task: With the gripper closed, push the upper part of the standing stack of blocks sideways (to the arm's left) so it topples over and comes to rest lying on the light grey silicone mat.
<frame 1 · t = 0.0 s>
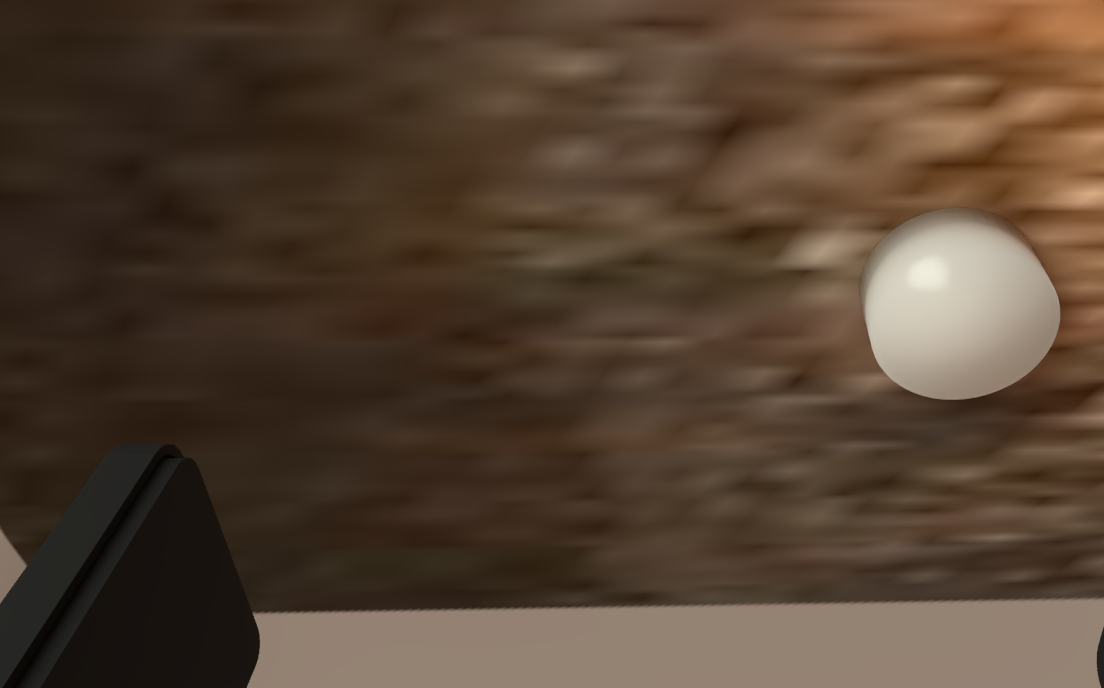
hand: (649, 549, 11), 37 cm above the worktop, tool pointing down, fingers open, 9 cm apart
cream dome knob: (945, 281, 50), on the worktop
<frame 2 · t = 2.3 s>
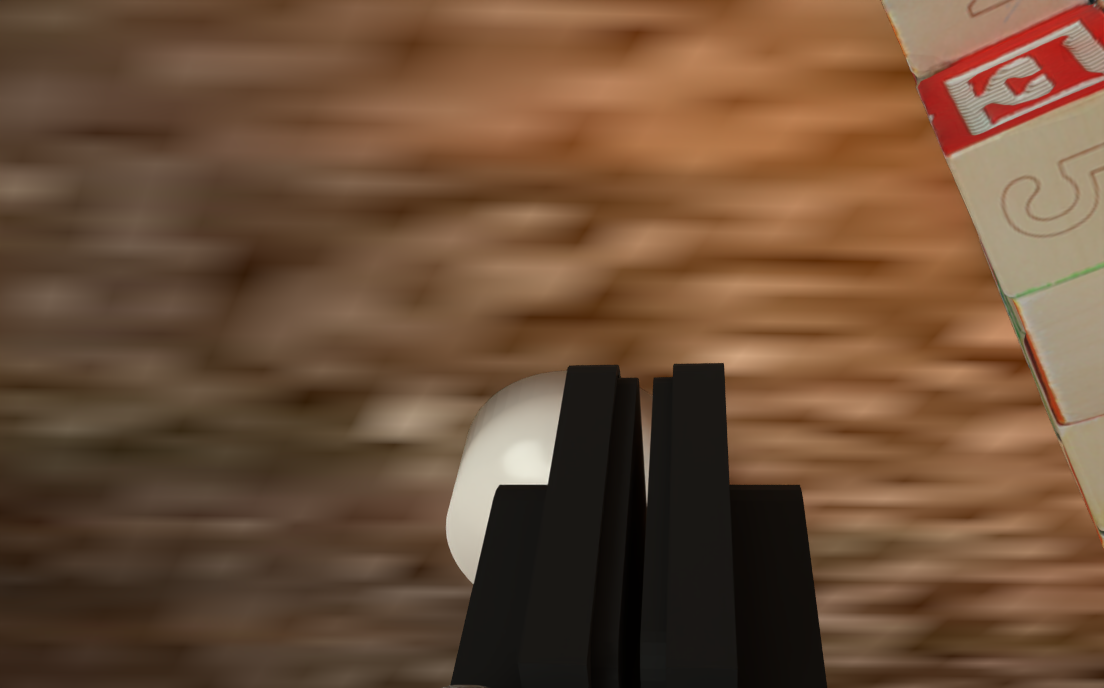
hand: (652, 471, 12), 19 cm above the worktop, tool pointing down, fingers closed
cream dome knob: (577, 459, 37), on the worktop
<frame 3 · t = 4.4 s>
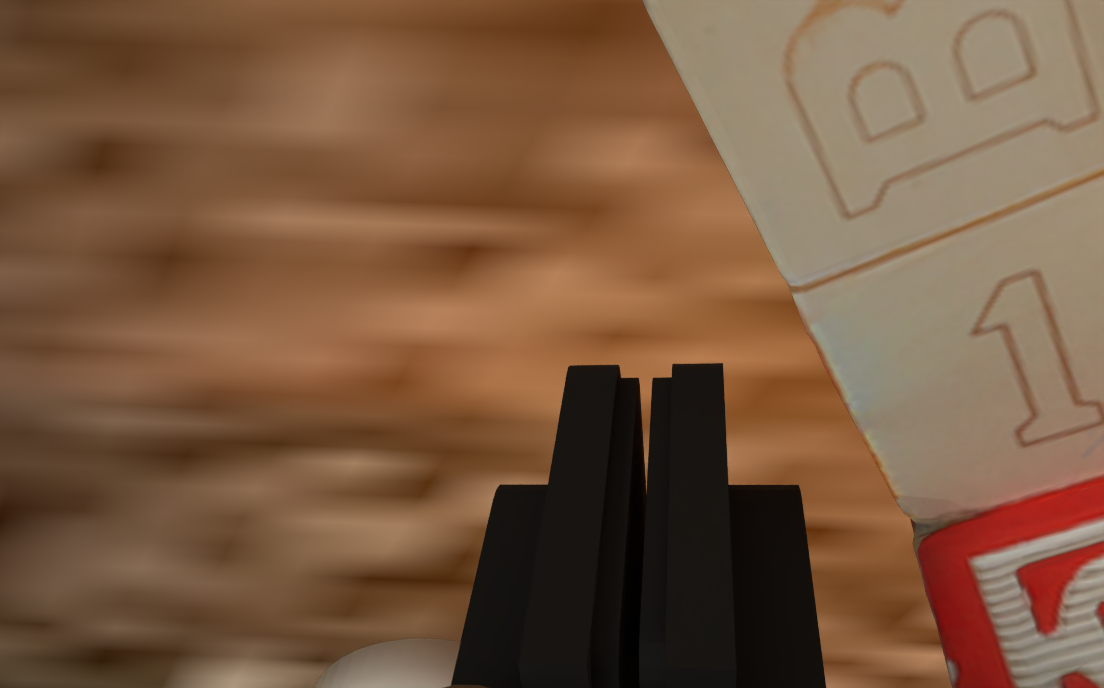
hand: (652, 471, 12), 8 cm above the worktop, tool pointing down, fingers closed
stack of blocks: (1016, 143, 17), on the worktop, touching gripper, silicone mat
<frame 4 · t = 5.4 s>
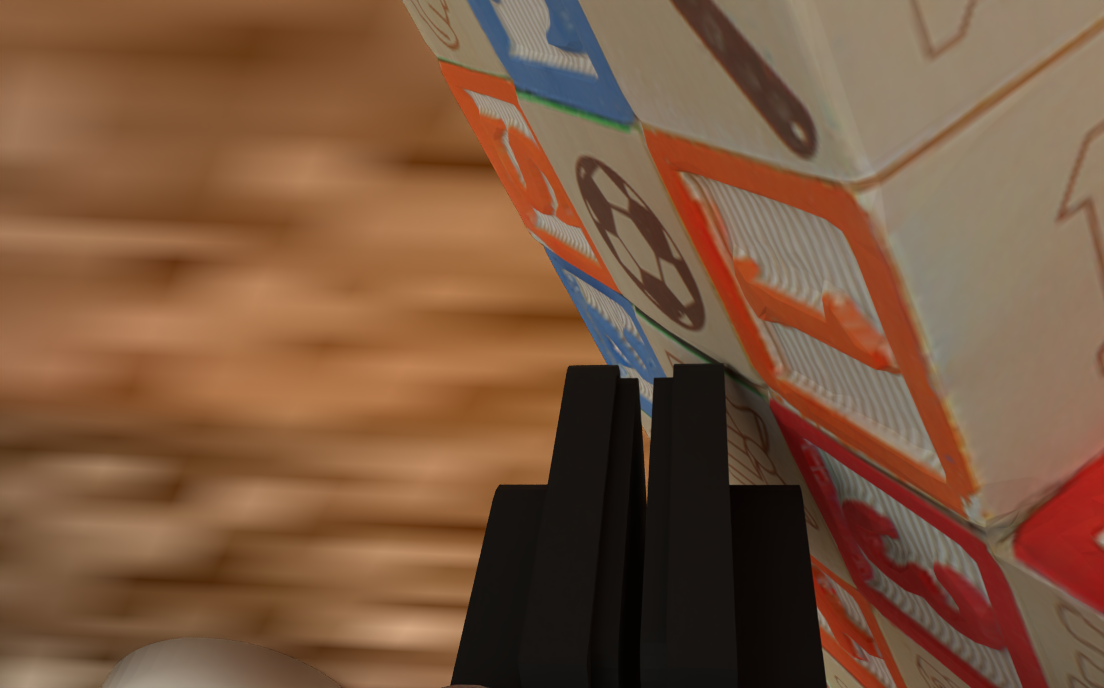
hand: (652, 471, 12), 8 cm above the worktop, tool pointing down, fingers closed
stack of blocks: (724, 211, 17), point 2 cm above the worktop, touching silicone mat
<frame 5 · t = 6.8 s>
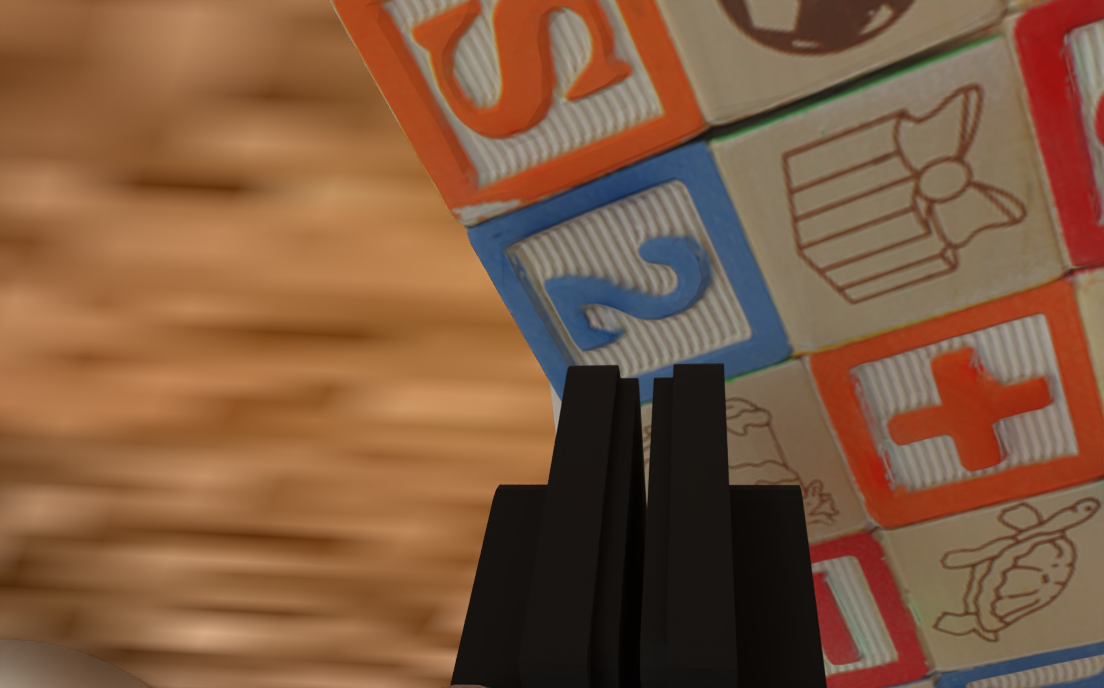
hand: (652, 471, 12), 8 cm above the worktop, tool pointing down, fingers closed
stack of blocks: (528, 228, 15), point 4 cm above the worktop, touching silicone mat
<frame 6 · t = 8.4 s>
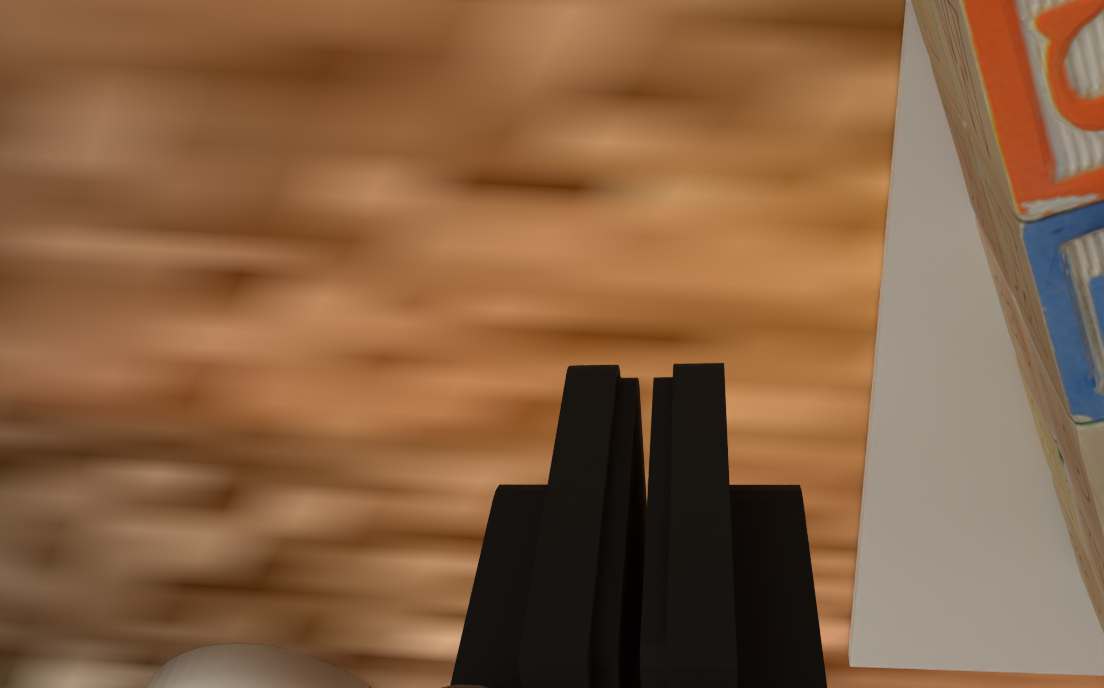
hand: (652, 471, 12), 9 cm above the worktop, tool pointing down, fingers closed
stack of blocks: (970, 227, 15), point 4 cm above the worktop, touching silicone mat
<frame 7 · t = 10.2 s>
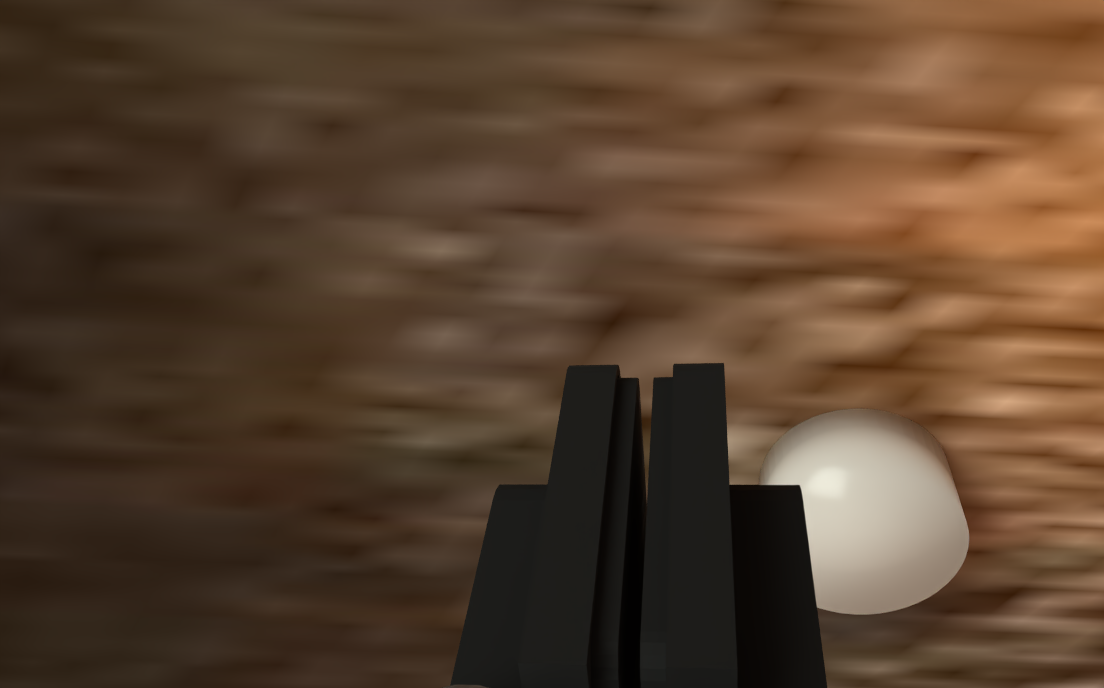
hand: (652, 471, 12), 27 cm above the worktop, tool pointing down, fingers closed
cream dome knob: (852, 480, 45), on the worktop
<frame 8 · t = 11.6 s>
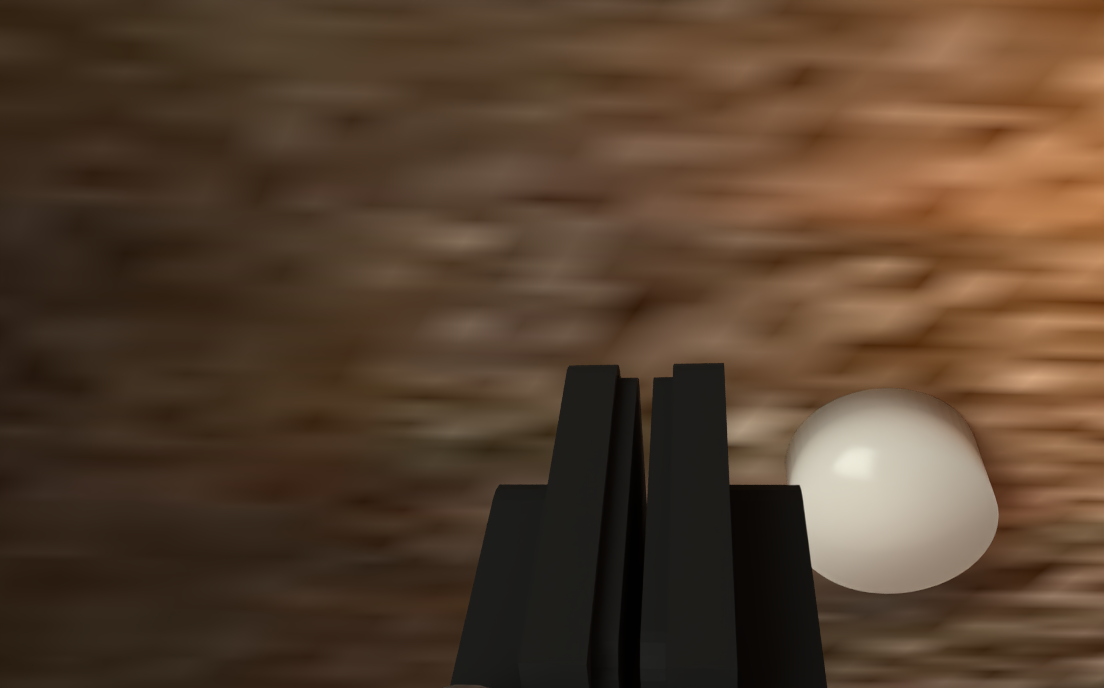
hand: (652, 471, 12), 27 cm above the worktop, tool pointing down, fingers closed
cream dome knob: (879, 460, 45), on the worktop
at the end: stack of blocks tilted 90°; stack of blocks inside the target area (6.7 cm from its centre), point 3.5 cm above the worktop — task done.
